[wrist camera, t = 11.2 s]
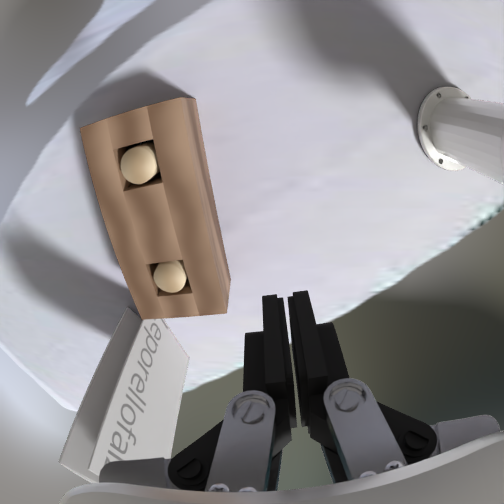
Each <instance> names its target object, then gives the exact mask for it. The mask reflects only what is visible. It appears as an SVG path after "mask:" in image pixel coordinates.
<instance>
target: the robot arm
mask: <svg viewBox="0 0 504 504" xmlns="http://www.w3.org/2000/svg"><path fill="white" fill-rule="evenodd" d="M418 135H419V139H420V143H421V146H422V148H423V150H424V152H425V153H426V155H427V156H428V158H429V159H430V160H431V161H432V162H433V163H434V164H436V165H437V166H439V167H441V168H443V169H445V170H449V171H459V170H462V169H464V168H466V167H467V168H469V169H471V170H473V171H475V172H478V173H480V174H482V175H484V176H486V177H488V178H490V179H492V180H494V181H496V182H498V183H500V184H502V185H504V103H498V102H491V101H484V100H475V99H471V98H470V96H469V95H467V94H466V93H465V92H464V91H462V90H460V89H458V88H454V87H439V88H437V89H434V90H433V91H432V92H430V93H429V94H428V95H427V96H426V98H425V99H424V101H423V102H422V104H421V107H420V110H419V114H418ZM262 305H263V331H260V332H251V333H245V346H244V379H243V392H242V393H239V394H238V395H236V396H235V397H234V398H233V399H232V400H231V401H230V402H229V404H228V406H227V409H226V412H225V417H224V419H223V420H222V421H221V422H220V423H219V424H217V425H216V426H215V427H213V428H212V429H211V430H209V431H208V432H207V433H205V434H204V435H203V436H202V437H200V438H199V439H198V440H196V441H195V442H194V443H192V444H191V445H189V446H188V447H187V448H185V449H184V450H182V451H181V452H180V453H178V454H177V455H176V456H175V457H174V458H170V459H165V458H164V457H160V458H151V459H139V460H125V461H113V462H109V463H107V464H106V465H104V466H103V468H102V469H101V470H100V475H99V483H91V484H86V485H81V486H78V487H75V488H73V489H71V490H69V491H68V492H67V493H66V494H65V495H64V496H63V497H62V499H61V500H60V502H59V504H504V431H500V428H499V425H498V422H497V421H496V420H495V419H494V418H493V417H491V416H489V415H481V416H475V417H470V418H465V419H459V420H453V421H445V422H438V423H437V424H436V425H433V426H429V425H427V424H426V423H424V422H421V421H419V420H417V419H414V418H412V417H410V416H407V415H405V414H403V413H401V412H398V411H396V410H394V409H392V408H389V407H387V406H385V405H383V404H381V403H379V402H377V401H376V400H375V398H374V396H373V394H372V392H371V391H370V389H369V388H368V386H367V385H366V384H364V383H363V382H361V381H359V380H357V379H352V378H349V375H348V372H347V368H346V365H345V361H344V358H343V354H342V351H341V348H340V344H339V341H338V338H337V334H336V331H335V328H334V325H333V323H332V322H330V323H323V324H316V322H315V317H314V313H313V309H312V305H311V302H310V298H309V294H308V291H299V292H293V296H291V297H288V307H289V317H290V329H291V340H292V351H293V359H294V367H295V374H296V383H297V390H298V399H299V407H300V415H301V424H302V427H304V426H308V433H309V434H310V437H311V438H312V439H314V440H316V441H317V442H319V443H320V445H321V449H322V451H323V455H324V458H325V461H326V464H327V467H328V470H329V473H330V476H331V479H332V482H333V484H329V485H323V486H317V487H310V488H301V489H292V490H282V491H278V484H279V475H280V469H281V460H282V453H283V448H284V447H285V446H286V445H287V444H288V443H289V442H290V441H291V440H292V439H291V428H295V427H297V422H296V408H295V393H294V381H293V373H292V363H291V355H290V347H289V339H288V331H287V324H286V316H285V309H284V301H283V298H277V294H275V295H267V296H262Z"/></svg>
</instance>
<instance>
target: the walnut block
mask: <svg viewBox="0 0 504 504" xmlns="http://www.w3.org/2000/svg"><path fill="white" fill-rule="evenodd" d="M80 132H81V137H82V141H83V146H84V150H85V154H86V158H87V162H88V166H89V170H90V174H91V178H92V182H93V185H94V189H95V192H96V196H97V199H98V203H99V206H100V209H101V212H102V216H103V219H104V222H105V225H106V228H107V231H108V234H109V237H110V240H111V243H112V246H113V249H114V251H115V254H116V257H117V260H118V262H119V265H120V268H121V270H122V273H123V275H124V278H125V281H126V283H127V286H128V288H129V290H130V293H131V295H132V298H133V300H134V303H135V305H136V307H137V310H138V312H139V314H140V316H141V319H142V320H146V319H162V318H177V317H190V316H203V315H214V314H225V313H227V307H228V299H229V290H230V281H231V278H230V273H229V269H228V264H227V259H226V255H225V250H224V245H223V240H222V235H221V230H220V226H219V221H218V216H217V211H216V206H215V201H214V195H213V190H212V185H211V180H210V175H209V170H208V164H207V159H206V154H205V148H204V143H203V137H202V132H201V126H200V121H199V115H198V109H197V104H196V99H193V98H183V97H180V98H175V99H171V100H167V101H163V102H159V103H156V104H152V105H148V106H145V107H141V108H138V109H134V110H131V111H128V112H125V113H121V114H118V115H115V116H112V117H109V118H106V119H103V120H101V121H98V122H95V123H92V124H90V125H87V126H84V127H82V128H80ZM151 139H153V140H154V145H155V150H156V155H157V159H158V164H159V168H160V172H158V173H157V174H156V175H155V176H153V177H152V178H151V179H149V180H148V181H147V182H145V183H142V184H134V183H131V182H129V181H128V180H127V179H126V178H125V177H124V176H123V174H122V171H121V159H122V157H123V155H124V154H125V153H126V152H127V151H128V150H130V149H132V148H134V147H136V146H139V145H140V142H143V141H147V140H151ZM175 260H183V262H184V266H185V269H186V273H187V279H186V282H185V285H184V287H183V288H182V289H181V290H180V291H178V292H174V293H171V292H166V291H163V290H162V289H160V288H159V287H158V286H157V285H156V283H155V281H154V272H155V270H156V268H157V266H158V264H159V262H167V261H175Z"/></svg>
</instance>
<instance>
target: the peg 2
mask: <svg viewBox="0 0 504 504" xmlns="http://www.w3.org/2000/svg"><path fill="white" fill-rule="evenodd" d="M186 279H187V273H186V269H185V266H184V262H183V260H175V261H167V262H159V264H158V266H157V268H156V270H155V272H154V281H155V283H156V285H157V286H158V287H159V288H160V289H162V290H163V291H166V292H171V293H174V292H178V291H180V290H181V289H182V288H183V287H184V285H185V282H186Z"/></svg>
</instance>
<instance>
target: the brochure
mask: <svg viewBox="0 0 504 504" xmlns="http://www.w3.org/2000/svg"><path fill="white" fill-rule="evenodd" d="M189 358H190V357H189V356H188V354H187V353H186V352H185V350H184V349H183V347H182V346H181V344H180V343H179V341H178V340H177V338H176V337H175V335H174V334H173V332H172V331H171V329H170V328H169V326H168V325H167V323H166V321H165V320H164V318H162V319H146V320H142V319H141V318H140V317H139V316H138V315H136V314H135V313H134V312H133V311H132V310H131V309H130V308H128V307H127V308H126V310H125V312H124V314H123V315H122V317H121V319H120V321H119V323H118V325H117V327H116V329H115V331H114V333H113V335H112V337H111V339H110V341H109V343H108V345H107V347H106V349H105V352H104V354H103V356H102V358H101V360H100V362H99V364H98V366H97V369H96V371H95V373H94V375H93V377H92V380H91V382H90V384H89V386H88V389H87V391H86V393H85V395H84V398H83V400H82V402H81V405H80V407H79V410H78V412H77V414H76V417H75V420H74V422H73V424H72V427H71V429H70V432H69V435H68V437H67V440H66V443H65V445H64V448H63V451H62V453H61V456H60V459H59V463H61V464H62V465H63V466H65V467H66V468H68V469H69V470H71V471H72V472H74V473H76V474H77V475H79V476H80V477H82V478H84V479H85V480H87V481H89V482H90V483H99V475H100V470H101V469H102V468H103V466H104V465H106V464H107V463H109V462H113V461H125V460H139V459H151V458H160V457H164V458H165V459H170V456H171V451H172V445H173V439H174V434H175V428H176V423H177V418H178V413H179V407H180V402H181V397H182V392H183V387H184V382H185V377H186V373H187V368H188V363H189Z"/></svg>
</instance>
